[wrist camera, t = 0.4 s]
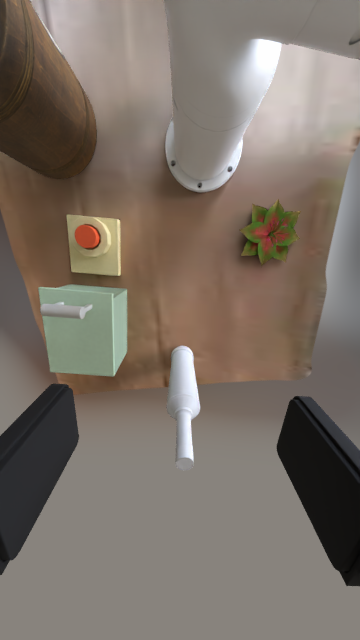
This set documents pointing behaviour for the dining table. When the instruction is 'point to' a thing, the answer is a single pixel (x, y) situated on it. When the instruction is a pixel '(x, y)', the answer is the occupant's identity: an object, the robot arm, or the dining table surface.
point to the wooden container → (41, 98)
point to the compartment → (119, 317)
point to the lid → (78, 331)
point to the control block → (104, 254)
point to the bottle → (183, 403)
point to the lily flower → (270, 232)
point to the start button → (87, 236)
